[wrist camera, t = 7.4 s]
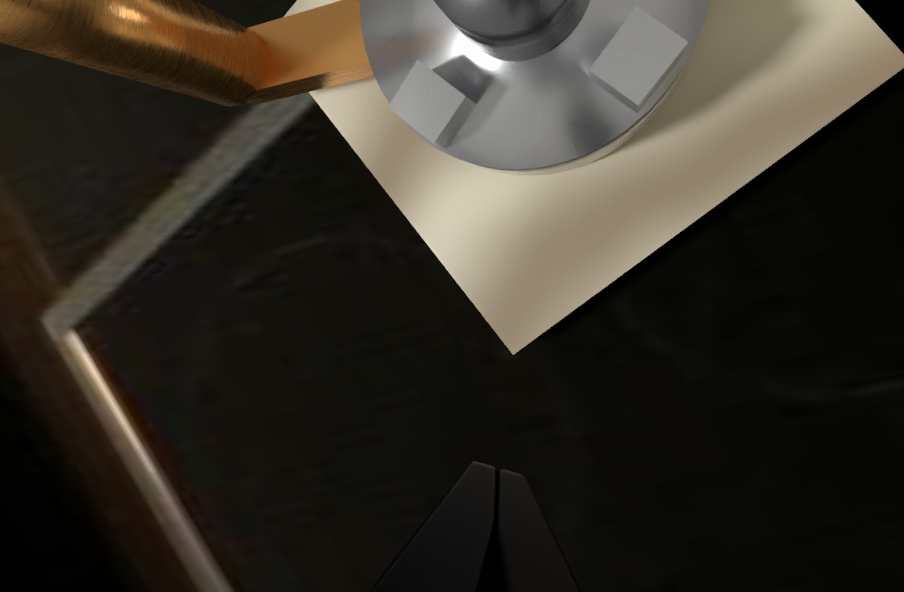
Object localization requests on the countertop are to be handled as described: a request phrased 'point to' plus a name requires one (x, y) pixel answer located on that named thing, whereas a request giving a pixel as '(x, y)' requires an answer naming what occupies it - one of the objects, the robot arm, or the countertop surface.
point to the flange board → (622, 159)
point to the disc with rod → (406, 63)
